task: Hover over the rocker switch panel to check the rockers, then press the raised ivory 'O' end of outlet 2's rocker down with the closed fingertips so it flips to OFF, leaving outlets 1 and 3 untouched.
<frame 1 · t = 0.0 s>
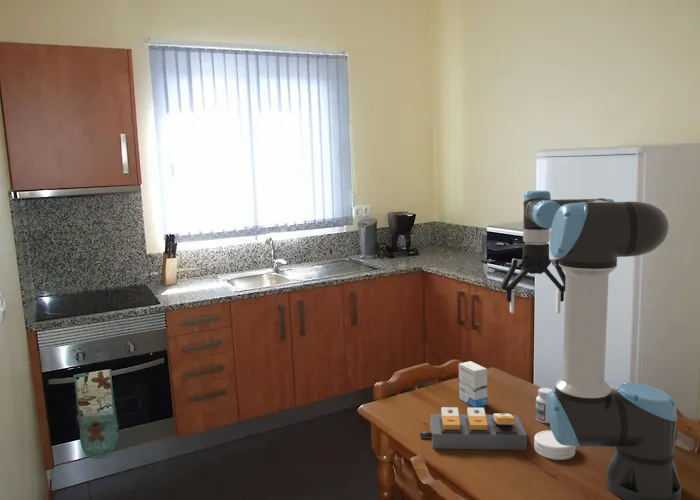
hand: (534, 312, 176), 28 cm above the table, fingers open, 13 cm apart
ink box: (472, 402, 180), on the table
coaster: (554, 451, 149), on the table
rocker 1: (504, 418, 154), point 6 cm above the table, hinge at 15.0°
rocker switch panel: (476, 438, 157), on the table
rocker 2: (477, 418, 154), point 6 cm above the table, hinge at -15.0°
pill bottle: (545, 420, 167), on the table
rocker 3: (450, 418, 155), point 6 cm above the table, hinge at -15.0°
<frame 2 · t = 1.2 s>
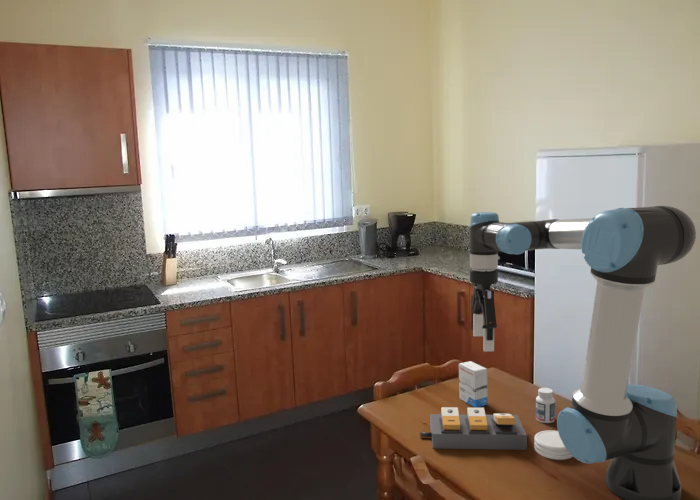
hand: (483, 343, 163), 23 cm above the table, fingers open, 13 cm apart
nothing on the table moved.
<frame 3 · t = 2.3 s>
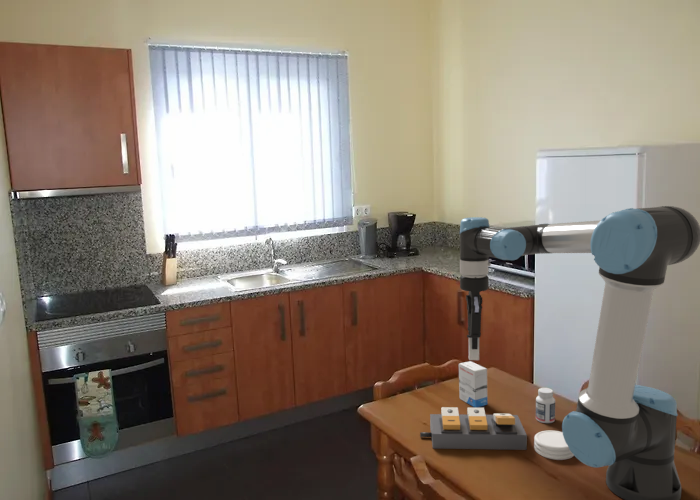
hand: (473, 359, 160), 20 cm above the table, fingers closed
nothing on the table moved.
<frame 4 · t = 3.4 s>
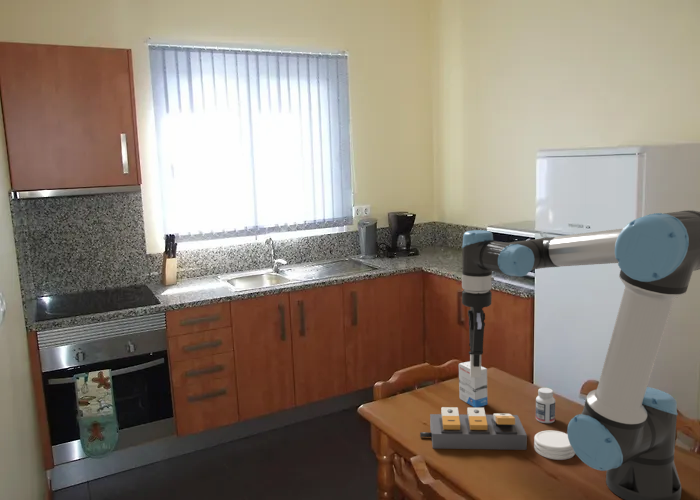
hand: (475, 376, 155), 17 cm above the table, fingers closed
nothing on the table moved.
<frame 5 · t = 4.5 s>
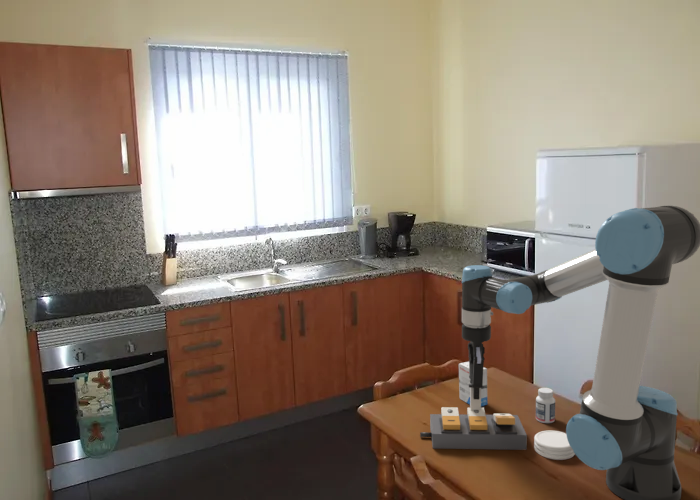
hand: (475, 408, 157), 8 cm above the table, fingers closed
rocker 2: (477, 418, 154), point 6 cm above the table, hinge at -14.9°, touching gripper
everything else where it was.
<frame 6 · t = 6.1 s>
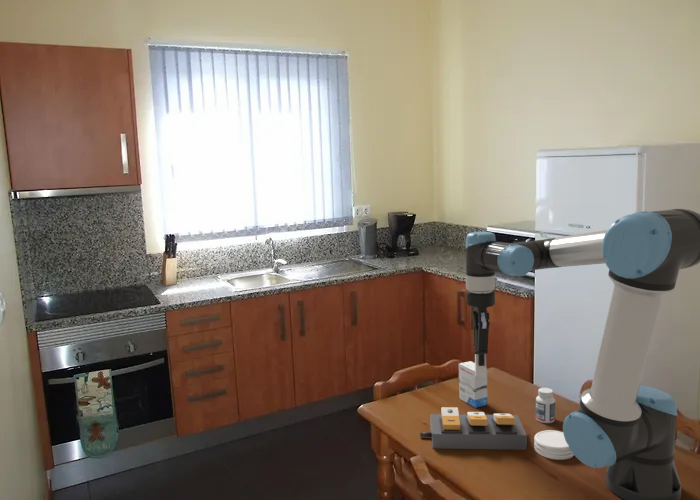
hand: (480, 375, 157), 16 cm above the table, fingers closed
rocker 2: (477, 418, 154), point 6 cm above the table, hinge at 8.9°
everything else where it was.
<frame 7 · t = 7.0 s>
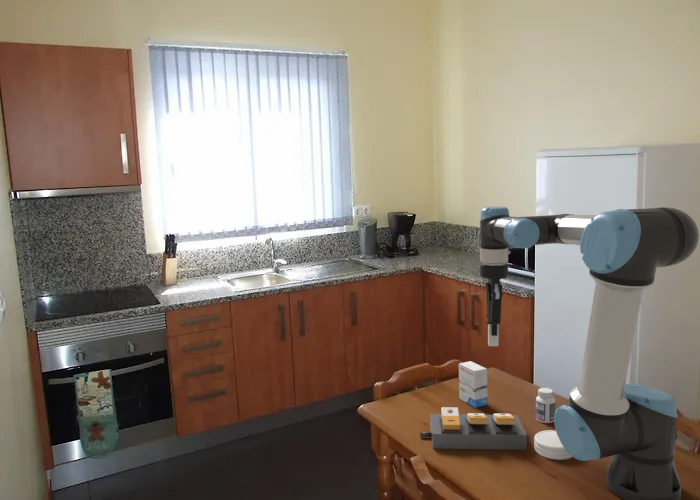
hand: (493, 345, 164), 22 cm above the table, fingers closed
rocker 2: (477, 418, 154), point 6 cm above the table, hinge at 15.4°
everything else where it was.
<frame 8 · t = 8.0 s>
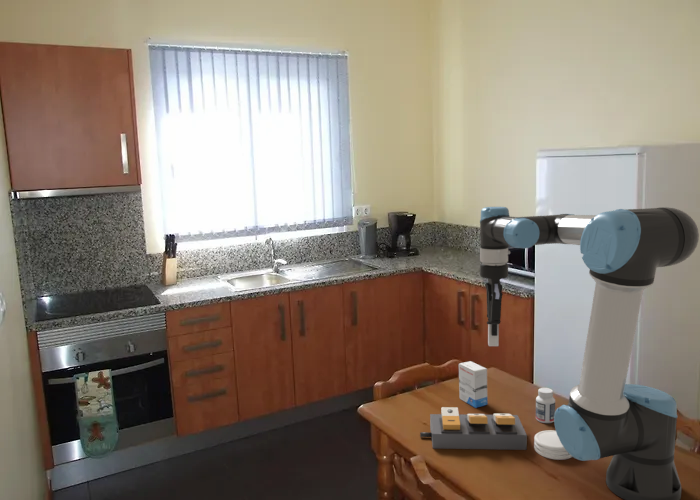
hand: (493, 345, 164), 22 cm above the table, fingers closed
rocker 2: (477, 418, 154), point 6 cm above the table, hinge at 17.4°, touching rocker switch panel
everything else where it was.
at the end: rocker 2 at +17° (first picture: -15°); rocker 1 at +15° (first picture: +15°); rocker 3 at -15° (first picture: -15°) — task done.
